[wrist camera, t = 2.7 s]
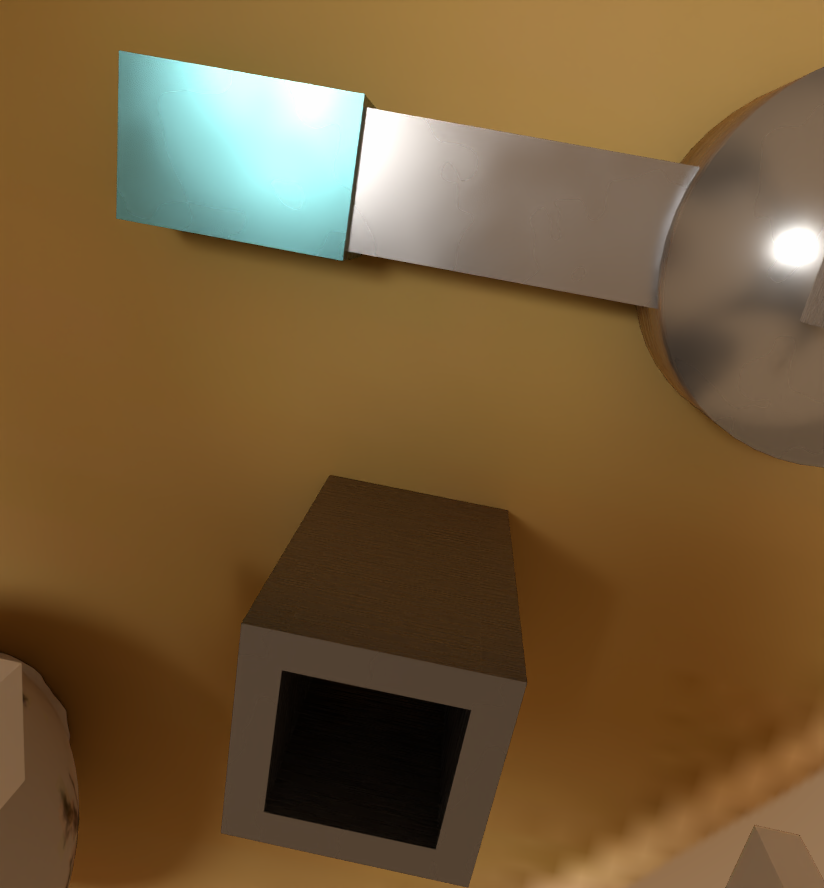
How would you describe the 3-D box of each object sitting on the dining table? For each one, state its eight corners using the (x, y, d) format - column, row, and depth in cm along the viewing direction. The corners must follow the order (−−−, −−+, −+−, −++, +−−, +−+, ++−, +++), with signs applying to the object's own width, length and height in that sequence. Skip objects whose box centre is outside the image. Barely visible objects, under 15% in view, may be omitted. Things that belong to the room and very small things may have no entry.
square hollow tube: (329, 475, 18) (241, 622, 11) (507, 510, 17) (527, 683, 11) (308, 625, 19) (220, 832, 13) (470, 659, 19) (468, 887, 12)
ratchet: (174, -47, 14) (-100, -298, 7) (1076, 108, 13) (1675, -13, 7) (160, 316, 17) (-50, 373, 10) (912, 460, 16) (1221, 624, 9)
